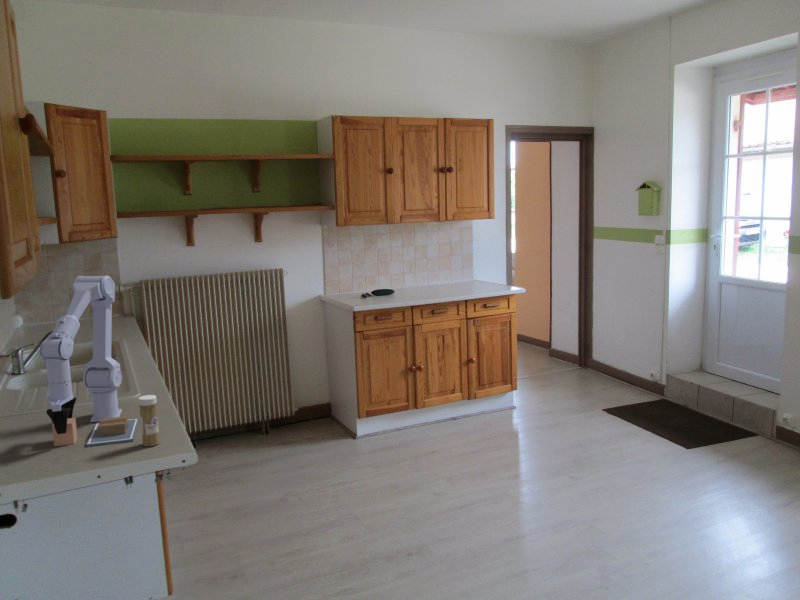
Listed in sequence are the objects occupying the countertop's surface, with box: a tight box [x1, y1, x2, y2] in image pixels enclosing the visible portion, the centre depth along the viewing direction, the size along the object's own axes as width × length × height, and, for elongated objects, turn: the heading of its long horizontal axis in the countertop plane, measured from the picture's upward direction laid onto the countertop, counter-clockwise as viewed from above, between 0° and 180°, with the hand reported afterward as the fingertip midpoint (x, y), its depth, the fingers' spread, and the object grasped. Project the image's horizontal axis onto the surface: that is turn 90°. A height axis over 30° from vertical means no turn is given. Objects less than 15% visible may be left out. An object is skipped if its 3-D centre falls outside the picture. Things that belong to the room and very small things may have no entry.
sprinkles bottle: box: [138, 394, 161, 447], centre depth 179 cm, size 5×5×13 cm
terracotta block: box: [51, 417, 78, 447], centre depth 183 cm, size 5×5×6 cm
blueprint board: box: [85, 418, 140, 448], centre depth 189 cm, size 18×12×1 cm, turn 17°
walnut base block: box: [98, 415, 129, 437], centre depth 189 cm, size 7×7×3 cm
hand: (64, 428), depth 182 cm, fingers open, 7 cm apart
